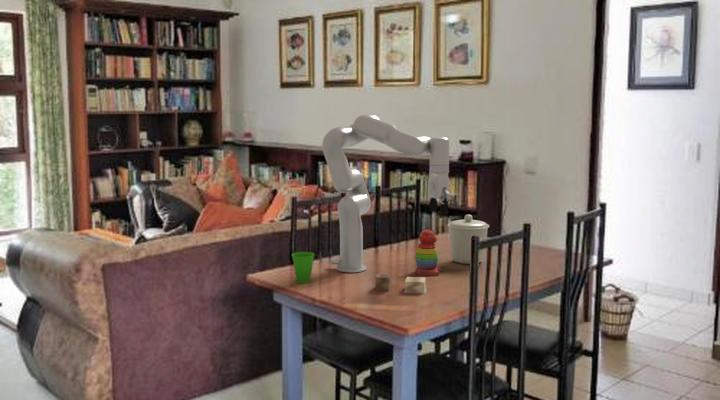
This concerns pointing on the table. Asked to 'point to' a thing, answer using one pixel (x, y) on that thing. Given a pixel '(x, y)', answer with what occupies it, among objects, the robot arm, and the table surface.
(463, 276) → the table surface
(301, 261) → the cup
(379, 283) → the walnut cube
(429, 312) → the table surface
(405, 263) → the table surface
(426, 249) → the stacking bear
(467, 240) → the canister
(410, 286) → the oak base block
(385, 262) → the table surface
